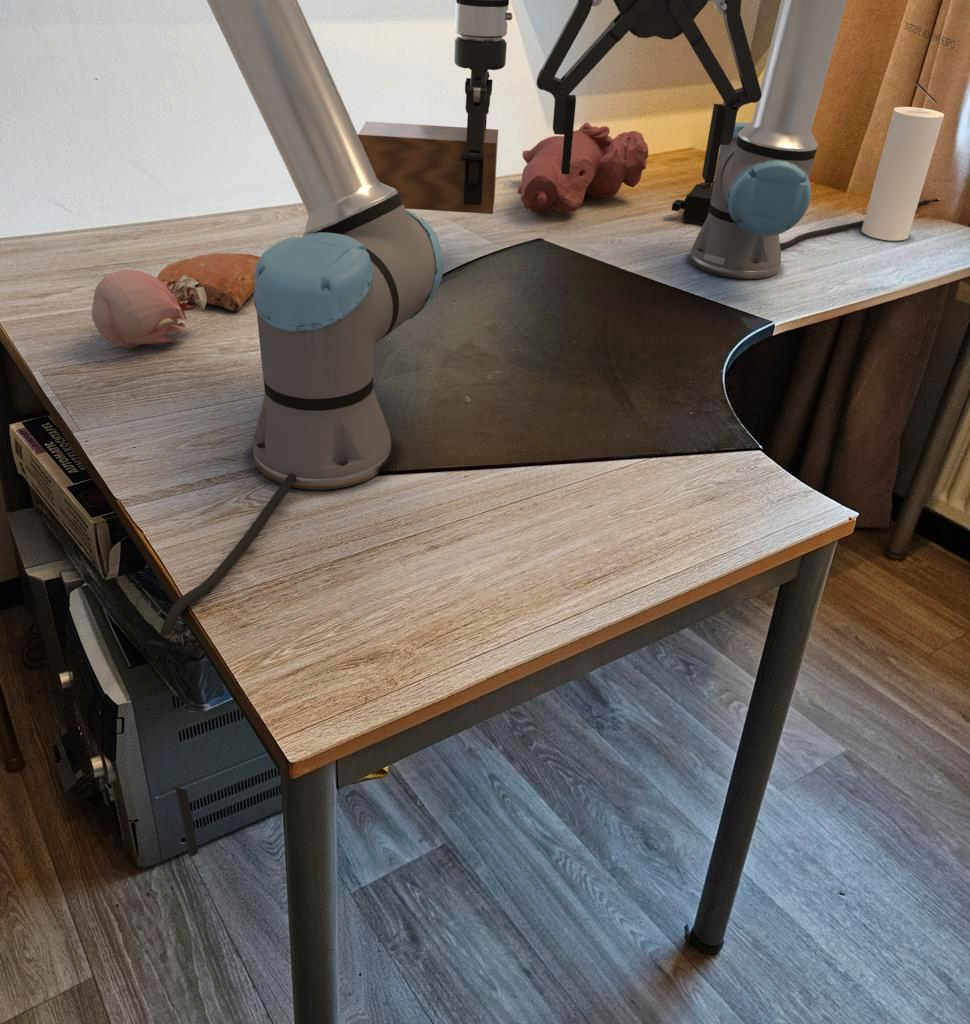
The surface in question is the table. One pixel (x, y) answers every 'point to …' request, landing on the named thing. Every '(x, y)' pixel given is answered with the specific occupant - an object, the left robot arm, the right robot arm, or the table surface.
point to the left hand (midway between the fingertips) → (636, 175)
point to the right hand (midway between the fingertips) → (474, 194)
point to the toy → (696, 203)
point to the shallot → (143, 307)
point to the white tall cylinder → (902, 168)
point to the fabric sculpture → (581, 168)
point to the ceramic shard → (217, 277)
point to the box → (428, 164)
